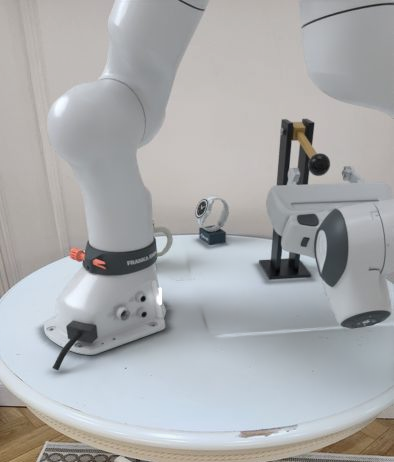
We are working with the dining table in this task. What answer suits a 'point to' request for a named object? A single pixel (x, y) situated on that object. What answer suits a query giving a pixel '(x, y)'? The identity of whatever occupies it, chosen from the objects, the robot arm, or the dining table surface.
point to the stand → (292, 265)
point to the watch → (213, 232)
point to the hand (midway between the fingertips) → (320, 169)
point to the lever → (310, 151)
